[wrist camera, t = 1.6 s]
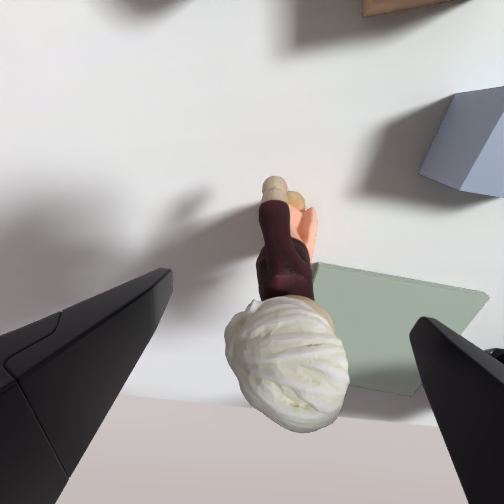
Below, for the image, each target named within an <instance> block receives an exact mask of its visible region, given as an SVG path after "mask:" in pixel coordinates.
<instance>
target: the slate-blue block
mask: <svg viewBox="0 0 504 504" xmlns="http://www.w3.org/2000/svg"><path fill="white" fill-rule="evenodd" d="M418 174H420V175H422V176H425V177H427V178H430V179H432V180H435V181H437V182H440V183H442V184H445V185H447V186H450V187H452V188H455V189H457V190H460V191H466V192H472V193H478V194H484V195H489V196H495V197H501V198H504V86H503V87H496V88H489V89H482V90H476V91H469V92H462V93H455V95H454V97H453V99H452V101H451V103H450V105H449V108H448V110H447V112H446V114H445V116H444V118H443V120H442V123H441V125H440V127H439V129H438V131H437V133H436V136H435V138H434V140H433V142H432V144H431V146H430V149H429V151H428V153H427V155H426V157H425V159H424V162H423V164H422V166H421V168H420V170H419V172H418Z"/></svg>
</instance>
